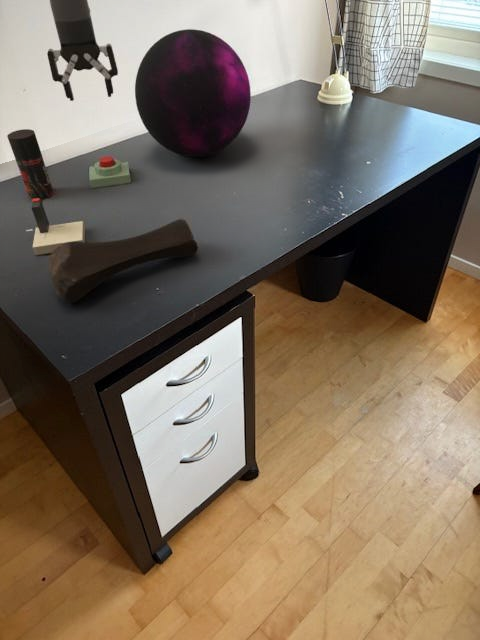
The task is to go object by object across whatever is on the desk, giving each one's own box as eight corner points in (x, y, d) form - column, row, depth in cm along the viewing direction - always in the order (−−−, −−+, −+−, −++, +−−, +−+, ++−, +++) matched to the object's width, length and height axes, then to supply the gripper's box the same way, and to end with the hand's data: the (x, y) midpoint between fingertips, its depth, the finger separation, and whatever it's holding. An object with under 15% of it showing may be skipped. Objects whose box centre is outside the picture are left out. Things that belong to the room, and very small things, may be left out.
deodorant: (54, 197, 117) (35, 136, 107) (29, 202, 116) (7, 140, 106) (52, 187, 122) (33, 127, 111) (28, 191, 120) (6, 132, 110)
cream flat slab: (26, 256, 98) (22, 248, 97) (30, 230, 106) (27, 221, 104) (84, 247, 100) (82, 239, 98) (85, 222, 108) (82, 213, 106)
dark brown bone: (59, 314, 87) (194, 276, 100) (59, 286, 78) (207, 249, 91) (40, 265, 90) (174, 234, 103) (37, 233, 81) (184, 203, 94)
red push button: (100, 169, 120) (99, 162, 119) (100, 163, 123) (99, 157, 121) (115, 167, 120) (113, 160, 119) (114, 161, 123) (113, 155, 122)
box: (91, 188, 120) (87, 173, 118) (91, 174, 126) (87, 160, 123) (131, 182, 122) (128, 167, 119) (129, 169, 128) (126, 155, 125)
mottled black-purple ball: (270, 160, 129) (271, 33, 109) (165, 185, 120) (145, 52, 100) (225, 125, 149) (219, 13, 129) (133, 145, 140) (110, 27, 120)
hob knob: (48, 232, 101) (38, 205, 97) (40, 233, 101) (30, 206, 97) (49, 223, 104) (40, 197, 100) (41, 224, 103) (32, 198, 99)
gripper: (35, 22, 96) (58, 106, 106) (106, 16, 98) (122, 99, 108) (38, 15, 101) (60, 96, 112) (106, 10, 103) (121, 89, 114)
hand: (91, 97), depth 110 cm, fingers open, 8 cm apart
